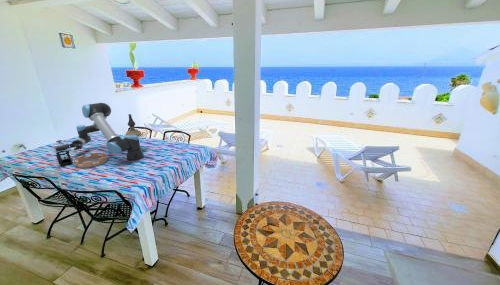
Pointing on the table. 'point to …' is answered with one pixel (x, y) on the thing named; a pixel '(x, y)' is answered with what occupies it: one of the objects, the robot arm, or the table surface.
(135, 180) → the table surface
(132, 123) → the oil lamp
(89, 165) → the castellated ring
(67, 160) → the french press
